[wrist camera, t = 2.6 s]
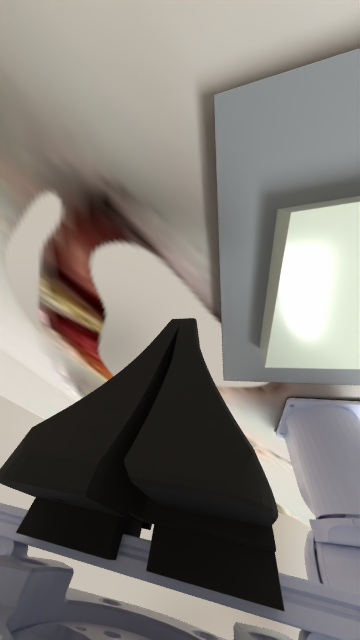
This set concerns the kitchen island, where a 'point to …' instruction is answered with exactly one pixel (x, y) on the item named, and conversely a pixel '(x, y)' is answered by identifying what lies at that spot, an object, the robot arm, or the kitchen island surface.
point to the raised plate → (278, 191)
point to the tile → (314, 288)
